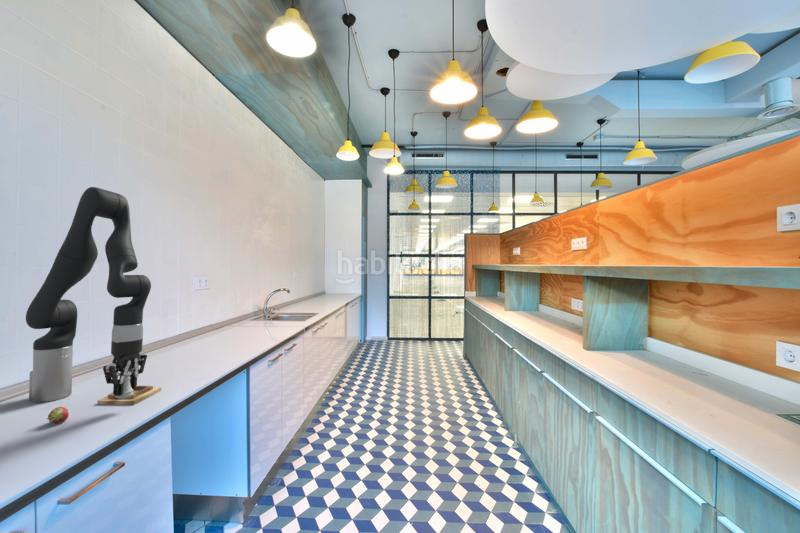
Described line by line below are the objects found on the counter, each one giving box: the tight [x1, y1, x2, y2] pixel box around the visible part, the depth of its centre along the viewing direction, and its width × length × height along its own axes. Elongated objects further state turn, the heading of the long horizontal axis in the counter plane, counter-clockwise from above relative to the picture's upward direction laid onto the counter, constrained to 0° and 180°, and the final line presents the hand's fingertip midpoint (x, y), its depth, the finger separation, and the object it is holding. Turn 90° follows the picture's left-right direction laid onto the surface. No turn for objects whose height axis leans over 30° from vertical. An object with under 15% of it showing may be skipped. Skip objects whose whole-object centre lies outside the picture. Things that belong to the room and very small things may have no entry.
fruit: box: [46, 406, 70, 424], centre depth 93 cm, size 4×6×5 cm
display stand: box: [97, 385, 162, 406], centre depth 111 cm, size 12×12×2 cm
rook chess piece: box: [115, 370, 133, 399], centre depth 101 cm, size 4×4×8 cm
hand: (125, 391), depth 101 cm, fingers closed on rook chess piece, 4 cm apart
